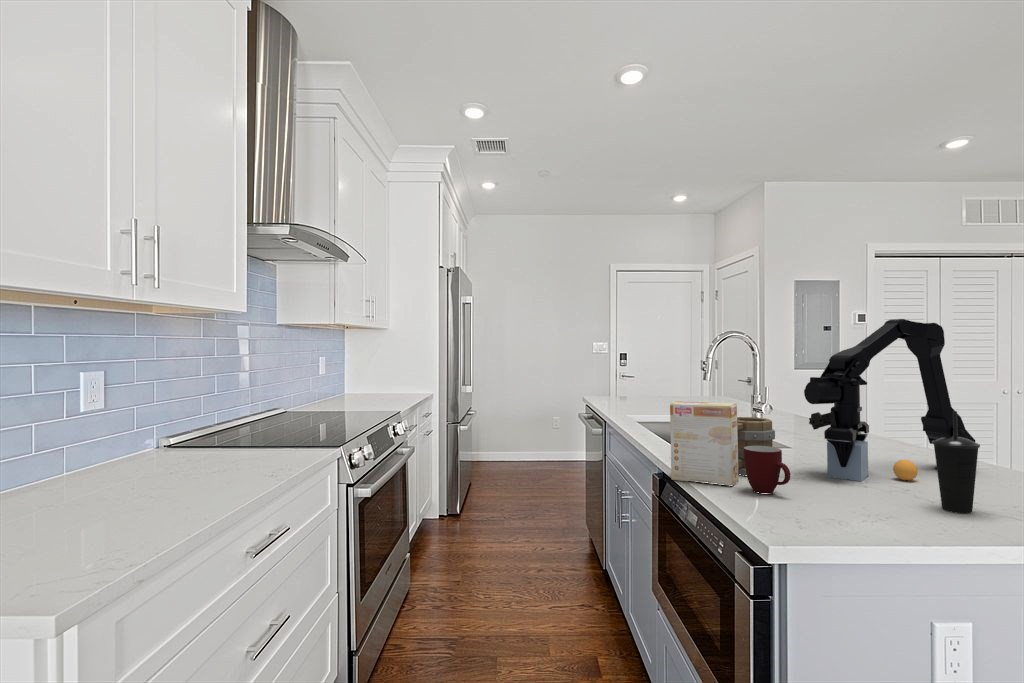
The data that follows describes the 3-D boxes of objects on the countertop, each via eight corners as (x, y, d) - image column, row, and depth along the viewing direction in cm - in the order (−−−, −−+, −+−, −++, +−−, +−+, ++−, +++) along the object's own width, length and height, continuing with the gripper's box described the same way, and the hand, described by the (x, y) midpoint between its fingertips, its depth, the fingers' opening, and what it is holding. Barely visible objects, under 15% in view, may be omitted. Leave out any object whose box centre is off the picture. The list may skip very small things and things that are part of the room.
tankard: (743, 464, 159) (743, 411, 159) (786, 472, 149) (785, 415, 149) (697, 473, 148) (697, 416, 148) (740, 483, 138) (739, 421, 138)
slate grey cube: (835, 471, 149) (834, 438, 149) (868, 476, 144) (867, 441, 144) (827, 476, 144) (826, 442, 144) (861, 481, 138) (860, 445, 138)
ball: (895, 476, 143) (894, 457, 143) (919, 479, 139) (919, 459, 139) (891, 480, 139) (891, 460, 139) (916, 483, 136) (915, 462, 136)
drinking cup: (963, 505, 118) (962, 409, 118) (991, 516, 110) (989, 413, 110) (924, 504, 118) (923, 409, 118) (949, 515, 111) (947, 413, 111)
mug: (800, 494, 127) (799, 450, 127) (783, 501, 122) (782, 455, 122) (755, 486, 135) (754, 444, 135) (737, 491, 130) (736, 448, 130)
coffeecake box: (739, 481, 140) (737, 402, 140) (732, 487, 134) (731, 405, 134) (679, 474, 148) (677, 400, 148) (670, 480, 142) (669, 403, 142)
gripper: (822, 398, 156) (823, 454, 156) (801, 404, 143) (802, 465, 142) (869, 400, 149) (870, 460, 148) (851, 406, 135) (852, 472, 135)
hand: (848, 464), depth 144 cm, fingers open, 9 cm apart
